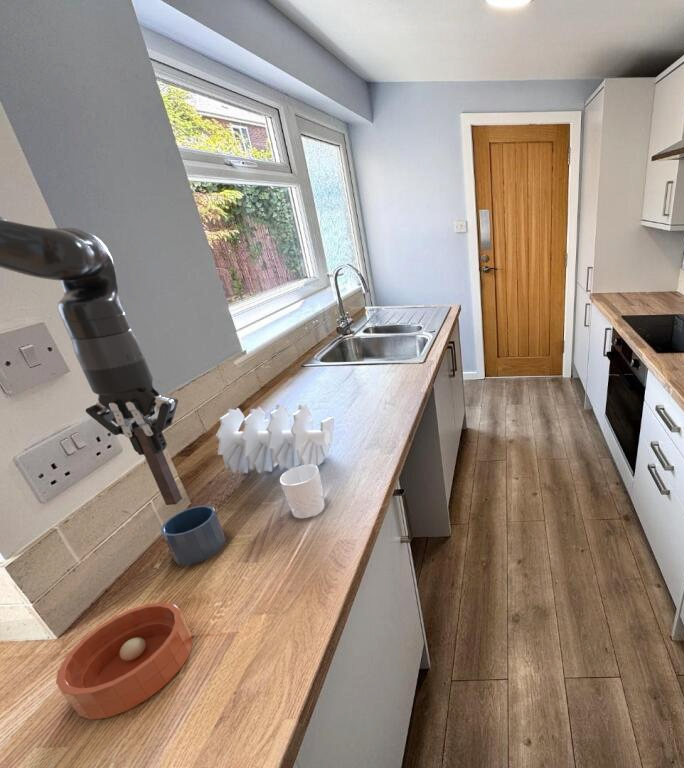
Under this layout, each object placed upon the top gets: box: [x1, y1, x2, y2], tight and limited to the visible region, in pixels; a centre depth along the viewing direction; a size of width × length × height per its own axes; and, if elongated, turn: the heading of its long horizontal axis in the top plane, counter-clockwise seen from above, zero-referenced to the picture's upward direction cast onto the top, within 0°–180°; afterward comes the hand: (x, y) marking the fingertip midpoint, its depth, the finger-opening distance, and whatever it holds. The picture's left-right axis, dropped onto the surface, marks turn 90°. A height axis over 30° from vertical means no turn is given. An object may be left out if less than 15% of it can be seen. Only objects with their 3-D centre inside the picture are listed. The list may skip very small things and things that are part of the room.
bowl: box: [55, 601, 194, 720], centre depth 60 cm, size 14×14×6 cm
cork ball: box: [119, 637, 146, 661], centre depth 62 cm, size 3×3×3 cm
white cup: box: [279, 464, 325, 519], centre depth 92 cm, size 8×8×10 cm
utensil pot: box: [160, 505, 227, 566], centre depth 82 cm, size 9×9×8 cm
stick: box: [133, 425, 183, 506], centre depth 73 cm, size 2×2×16 cm
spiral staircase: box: [214, 404, 335, 474], centre depth 108 cm, size 18×18×25 cm
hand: (152, 451), depth 72 cm, fingers closed on stick, 2 cm apart
